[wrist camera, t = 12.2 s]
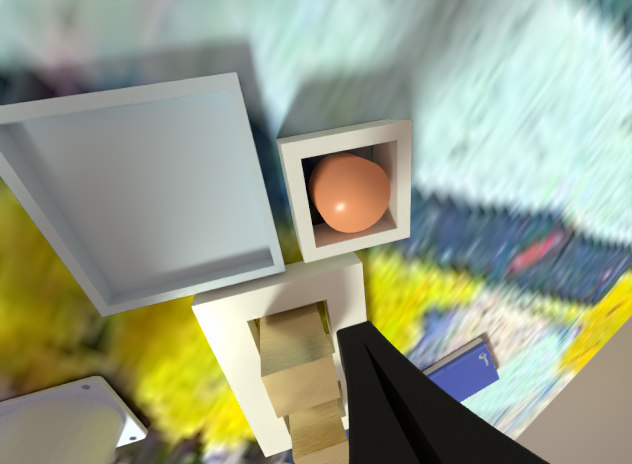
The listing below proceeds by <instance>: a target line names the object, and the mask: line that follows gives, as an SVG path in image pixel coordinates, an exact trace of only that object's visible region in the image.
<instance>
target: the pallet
mask: <svg viewBox="0 0 632 464" xmlns="http://www.w3.org/2000/svg"><path fill="white" fill-rule="evenodd" d="M285 270H286V271H284V272H280V273H276V274H272V275H268V276H264V277H260V278H256V279H252V280H248V281H244V282H240V283H236V284H232V285H228V286H224V287H220V288H216V289H212V290H208V291H204V292H200V293H196V294H195V297H194V300H193V303H192V306H191V307H192V309H193V311H194V313H195V315H196V317H197V319H198V321H199V324H200V326H201V328H202V330H203V332H204V334H205V336H206V338H207V340H208V342H209V344H210V346H211V348H212V350H213V352H214V354H215V356H216V358H217V360H218V362H219V364H220V366H221V368H222V370H223V372H224V374H225V376H226V378H227V380H228V382H229V384H230V386H231V388H232V390H233V392H234V394H235V396H236V398H237V400H238V402H239V404H240V406H241V408H242V410H243V412H244V414H245V416H246V418H247V420H248V422H249V425H250V427H251V429H252V431H253V433H254V435H255V437H256V439H257V441H258V443H259V445H260V447H261V449H262V451H263V453H264V455H265V457H268V456H271V455H274V454H276V453H279V452H282V451H285V450H288V449H291V448H292V442H291V433H290V424H289V415H286V416H283V417H280V418H277V416H276V414H275V411H274V409H273V406H272V404H271V401H270V399H269V396H268V394H267V391H266V389H265V386H264V384H263V381H262V379H261V361H260V335H259V332H258V329H257V326H256V324H255V321H254V319H256V318H260V317H264V316H267V315H271V314H275V313H278V312H282V311H286V310H289V309H293V308H297V307H300V306H304V305H308V304H311V303H315V302H319V301H322V300H323V302H324V308H325V313H326V319H327V324H328V330H329V333H327V334H326V336H327V339H328V343H329V346H330V349H331V352H332V355H333V360H334V365H335V371H336V376H337V381H338V386H339V392H340V398H337V399H336V401H337V404H338V408H339V412H340V415H341V419H342V422H343V426H344V429H345V430H346V429H349V420H348V400H347V385H346V379H345V375H344V371H343V367H342V364H341V359H340V353H339V347H338V341H337V335H336V332H337V331H338V330H339V329H342V328H345V327H349V326H352V325H355V324H359V323H362V322H365V321H367V318H366V305H365V293H364V280H363V267H362V262H361V260H360V259H359V258H358V256H357V255H356V253H355V252H354V251H352V252H348V253H344V254H340V255H336V256H332V257H328V258H324V259H320V260H316V261H312V262H308V263H305V262H304V260H303V261H299V262H295V263H291V264H287V265H285Z"/></svg>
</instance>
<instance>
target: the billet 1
mask: <svg viewBox="0 0 632 464" xmlns="http://www.w3.org/2000/svg"><path fill="white" fill-rule="evenodd" d="M260 361H261V379H262V381H263V384H264V386H265V389H266V391H267V394H268V396H269V399H270V401H271V404H272V406H273V409H274V411H275V414H276V416H277V418H280V417H283V416H286V415H289V414H292V413H295V412H298V411H301V410H304V409H307V408H310V407H313V406H316V405H319V404H322V403H325V402H328V401H331V400H334V399H337V398H340V392H339V387H338V382H337V376H336V371H335V365H334V360H333V355H332V352H331V349H330V346H329V343H328V339H327V336H326V333H325V330H324V327H323V324H322V321H321V318H320V315H319V312H318V308H317V305H316V302H315V303H311V304H308V305H304V306H300V307H297V308H293V309H289V310H286V311H282V312H278V313H275V314H271V315H267V316H264V317H260Z"/></svg>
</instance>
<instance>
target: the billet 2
mask: <svg viewBox="0 0 632 464" xmlns="http://www.w3.org/2000/svg"><path fill="white" fill-rule="evenodd" d="M289 424H290V433H291V442H292V451H293V460H294V462H295V464H349V444H348V440H347V436H346V433H345V429H344V426H343V422H342V419H341V415H340V412H339V408H338V404H337V401H336V399H334V400H331V401H328V402H325V403H322V404H319V405H316V406H313V407H310V408H307V409H304V410H301V411H298V412H295V413H292V414H289Z"/></svg>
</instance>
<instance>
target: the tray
mask: <svg viewBox="0 0 632 464" xmlns="http://www.w3.org/2000/svg"><path fill="white" fill-rule="evenodd" d="M0 176H1V178H2V179H3V181H4V182H5V183H6V185H7V186H8V187H9V189H10V190H11V192H12V193H13V194H14V196H15V197H16V198H17V200H18V201H19V203H20V204H21V205H22V207H23V208H24V209H25V211H26V212H27V214H28V215H29V216H30V218H31V219H32V221H33V222H34V223H35V225H36V226H37V227H38V229H39V230H40V232H41V233H42V234H43V236H44V237H45V238H46V240H47V241H48V243H49V244H50V245H51V247H52V248H53V250H54V251H55V252H56V254H57V255H58V256H59V258H60V259H61V261H62V262H63V263H64V265H65V266H66V267H67V269H68V270H69V272H70V273H71V274H72V276H73V277H74V278H75V280H76V281H77V283H78V284H79V285H80V287H81V288H82V290H83V291H84V292H85V294H86V295H87V296H88V298H89V299H90V301H91V302H92V303H93V305H94V306H95V307H96V309H97V310H98V312H99V313H100V314H101V316H102V317H105V316H109V315H113V314H117V313H121V312H125V311H129V310H133V309H137V308H141V307H145V306H149V305H153V304H157V303H161V302H165V301H168V300H172V299H176V298H180V297H184V296H188V295H192V294H196V293H200V292H204V291H208V290H212V289H216V288H220V287H224V286H228V285H232V284H236V283H240V282H244V281H248V280H252V279H256V278H260V277H264V276H268V275H272V274H276V273H280V272H284V271H286V270H285V265H284V259H283V255H282V251H281V247H280V243H279V239H278V235H277V231H276V227H275V223H274V219H273V215H272V211H271V207H270V203H269V199H268V195H267V191H266V187H265V182H264V178H263V174H262V170H261V166H260V162H259V158H258V154H257V150H256V146H255V142H254V138H253V134H252V130H251V126H250V122H249V118H248V114H247V110H246V106H245V101H244V97H243V93H242V89H241V85H240V81H239V77H238V75H237V72H232V73H225V74H218V75H211V76H204V77H197V78H190V79H183V80H176V81H169V82H162V83H155V84H148V85H141V86H134V87H127V88H120V89H113V90H106V91H99V92H92V93H85V94H78V95H72V96H65V97H58V98H51V99H44V100H37V101H30V102H23V103H16V104H9V105H2V106H0Z"/></svg>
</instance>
